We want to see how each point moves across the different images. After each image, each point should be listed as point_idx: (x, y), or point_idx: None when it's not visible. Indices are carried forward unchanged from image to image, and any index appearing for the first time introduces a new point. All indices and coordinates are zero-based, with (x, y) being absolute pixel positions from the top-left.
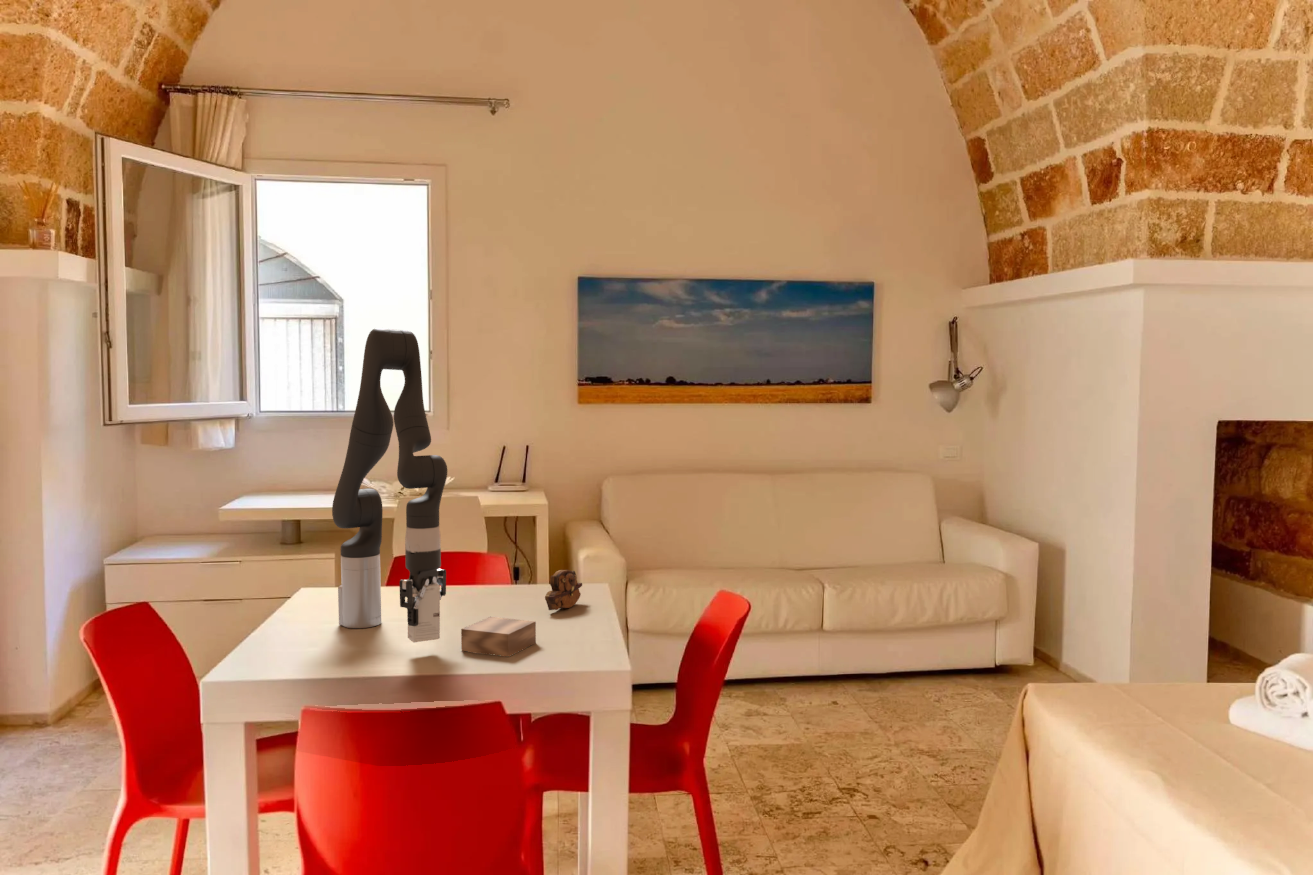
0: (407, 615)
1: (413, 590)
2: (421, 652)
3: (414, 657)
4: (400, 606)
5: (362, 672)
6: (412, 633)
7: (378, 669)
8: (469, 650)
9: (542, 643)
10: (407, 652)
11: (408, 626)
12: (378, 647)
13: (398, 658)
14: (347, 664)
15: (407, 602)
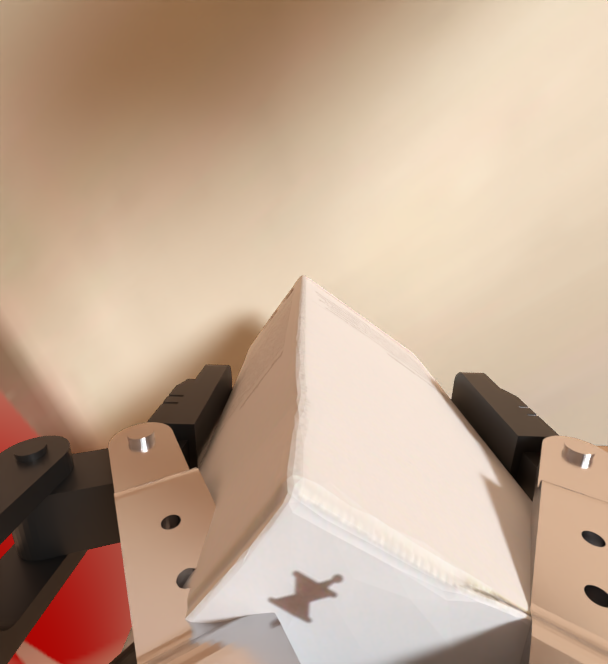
0: (157, 409)
1: (133, 636)
2: (348, 303)
3: None
4: (23, 441)
5: (3, 246)
6: (253, 349)
7: (69, 283)
8: None
9: None
10: (326, 244)
11: (292, 299)
12: (355, 30)
13: (231, 264)
14: (46, 91)
15: (18, 545)
